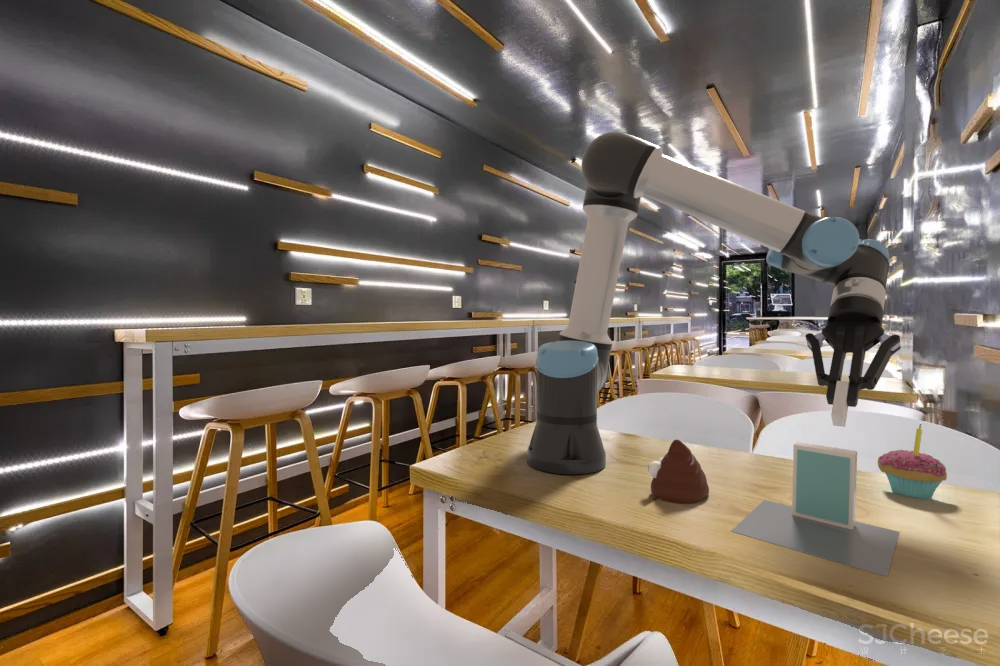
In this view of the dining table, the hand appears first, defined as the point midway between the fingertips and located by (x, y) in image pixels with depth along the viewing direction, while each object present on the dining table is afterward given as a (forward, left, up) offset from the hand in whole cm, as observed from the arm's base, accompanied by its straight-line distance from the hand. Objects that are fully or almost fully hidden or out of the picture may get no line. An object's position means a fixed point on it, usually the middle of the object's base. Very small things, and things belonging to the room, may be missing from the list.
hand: (838, 420), depth 72 cm
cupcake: (+8, +14, -13) cm, 21 cm away
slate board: (0, -13, -13) cm, 19 cm away
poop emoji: (-19, -12, -13) cm, 26 cm away
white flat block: (0, -8, -13) cm, 15 cm away
